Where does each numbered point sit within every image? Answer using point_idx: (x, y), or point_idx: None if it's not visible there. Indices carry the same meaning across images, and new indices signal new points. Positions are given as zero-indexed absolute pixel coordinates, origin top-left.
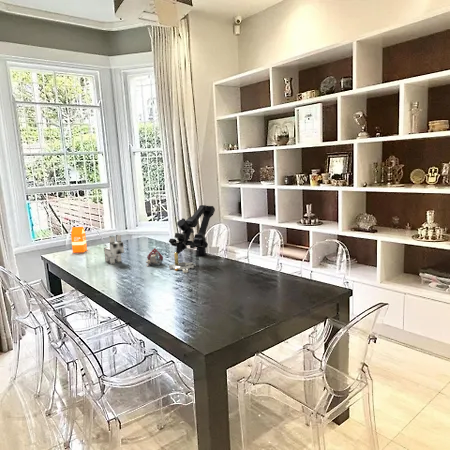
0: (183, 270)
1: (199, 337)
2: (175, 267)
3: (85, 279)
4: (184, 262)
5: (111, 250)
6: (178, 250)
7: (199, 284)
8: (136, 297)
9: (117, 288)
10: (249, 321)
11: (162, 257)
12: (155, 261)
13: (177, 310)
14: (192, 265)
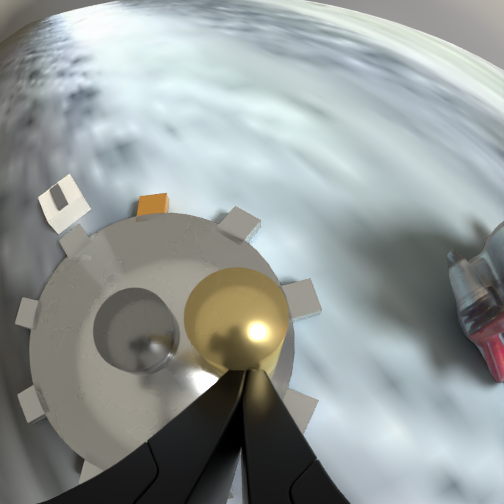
0: (69, 174)
1: (32, 26)
2: (186, 242)
3: (471, 55)
4: None
5: None
6: (196, 411)
7: (2, 114)
8: (180, 5)
9: (292, 10)
10: None
11: (497, 321)
12: (485, 244)
13: (62, 27)
14: (38, 365)
